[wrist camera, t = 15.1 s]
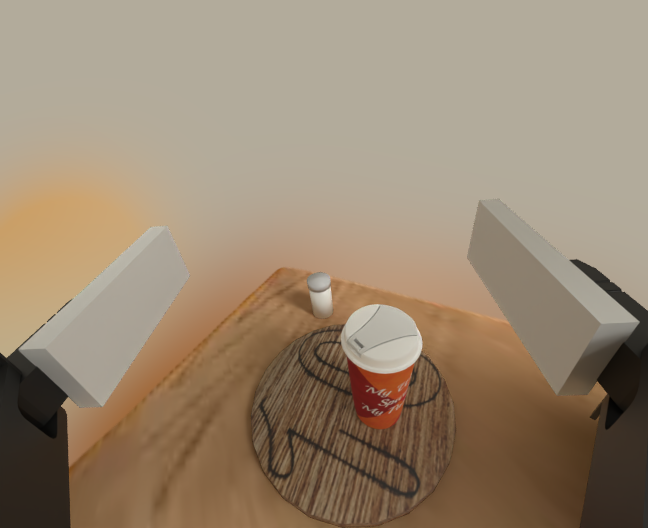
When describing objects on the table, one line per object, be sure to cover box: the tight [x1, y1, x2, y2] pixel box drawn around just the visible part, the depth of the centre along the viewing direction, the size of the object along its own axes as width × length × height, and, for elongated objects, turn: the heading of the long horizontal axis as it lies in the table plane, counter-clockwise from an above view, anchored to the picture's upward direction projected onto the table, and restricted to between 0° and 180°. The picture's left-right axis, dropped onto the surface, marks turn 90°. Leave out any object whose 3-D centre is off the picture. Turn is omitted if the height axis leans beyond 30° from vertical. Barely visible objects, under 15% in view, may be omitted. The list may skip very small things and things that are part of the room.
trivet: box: [251, 325, 456, 528], centre depth 38 cm, size 25×25×2 cm
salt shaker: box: [307, 272, 333, 319], centre depth 50 cm, size 4×4×7 cm
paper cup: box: [341, 304, 422, 429], centre depth 32 cm, size 8×8×14 cm
